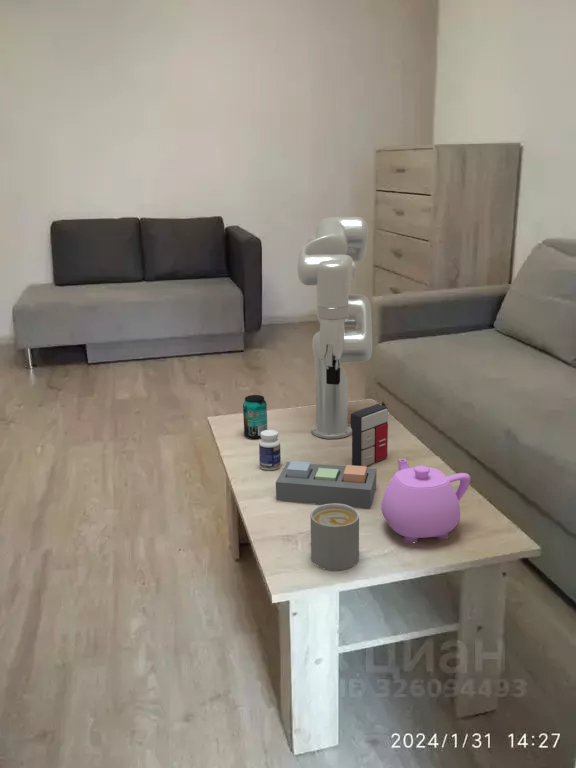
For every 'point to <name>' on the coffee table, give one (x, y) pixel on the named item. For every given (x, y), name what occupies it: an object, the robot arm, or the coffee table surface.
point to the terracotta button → (355, 474)
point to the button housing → (326, 488)
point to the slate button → (299, 469)
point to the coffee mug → (335, 536)
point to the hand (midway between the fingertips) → (333, 383)
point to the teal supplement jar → (254, 416)
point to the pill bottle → (269, 450)
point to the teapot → (423, 502)
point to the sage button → (327, 474)
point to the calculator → (369, 435)
